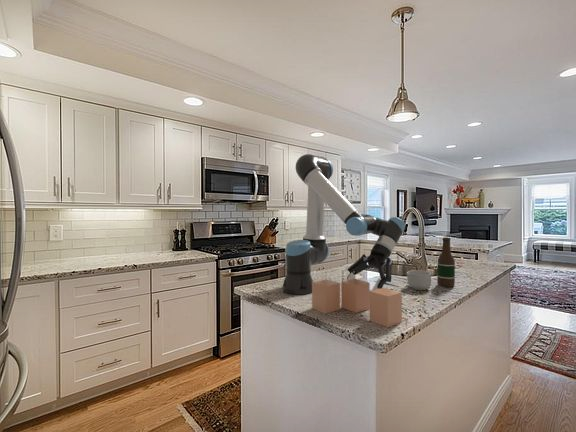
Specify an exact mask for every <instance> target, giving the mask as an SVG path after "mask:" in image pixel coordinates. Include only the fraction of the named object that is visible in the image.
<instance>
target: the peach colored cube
mask: <svg viewBox="0 0 576 432" xmlns="http://www.w3.org/2000/svg"><path fill="white" fill-rule="evenodd" d="M311 309H314V310H315V311H317V312H321V313H323V314H329V313H332V312H336V311H340V309H341V283H340V282H337V281H333V280H330V279H322V280H317V281H313V282H312V293H311Z"/></svg>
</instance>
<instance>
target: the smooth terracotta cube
mask: <svg viewBox="0 0 576 432" xmlns="http://www.w3.org/2000/svg"><path fill="white" fill-rule="evenodd" d="M346 280H347V279H346ZM346 280H344V281H343V280H342V281H341V309H342V308H343V309H345V310H348V311H351V312H353V313H356V314H357V313H360V312H363V311H367V310H370V291H371V290H370V289H371V287H370V286H371V285H370V282H369V281H365V280H362V279H351V280H347V281H346Z"/></svg>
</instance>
